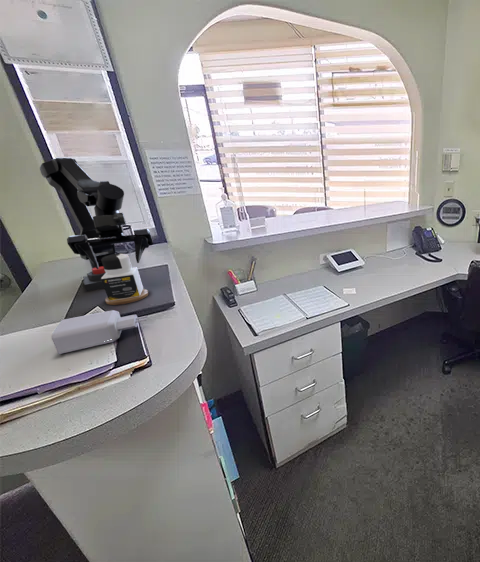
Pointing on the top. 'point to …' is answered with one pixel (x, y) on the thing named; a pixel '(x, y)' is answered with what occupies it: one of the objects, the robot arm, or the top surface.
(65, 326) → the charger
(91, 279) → the button block
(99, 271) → the call button
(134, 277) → the medicine bottle
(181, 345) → the top surface
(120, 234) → the robot arm
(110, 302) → the coaster
